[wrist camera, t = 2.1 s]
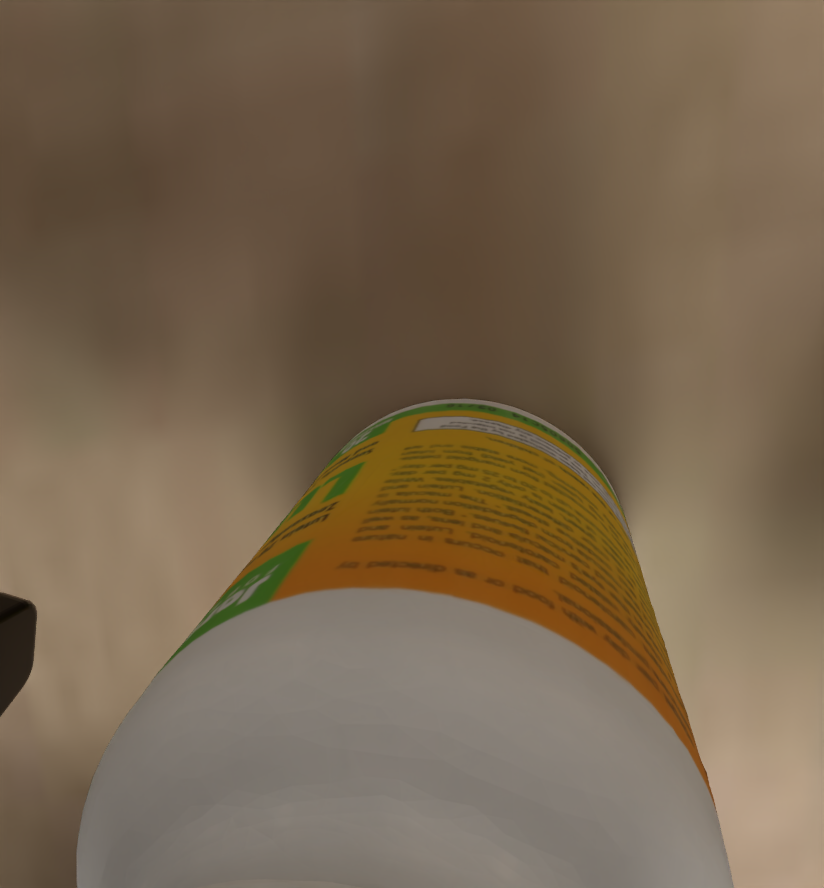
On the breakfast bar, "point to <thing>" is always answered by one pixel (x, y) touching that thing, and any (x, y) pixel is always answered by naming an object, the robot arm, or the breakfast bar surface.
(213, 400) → the breakfast bar surface
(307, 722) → the supplement bottle
